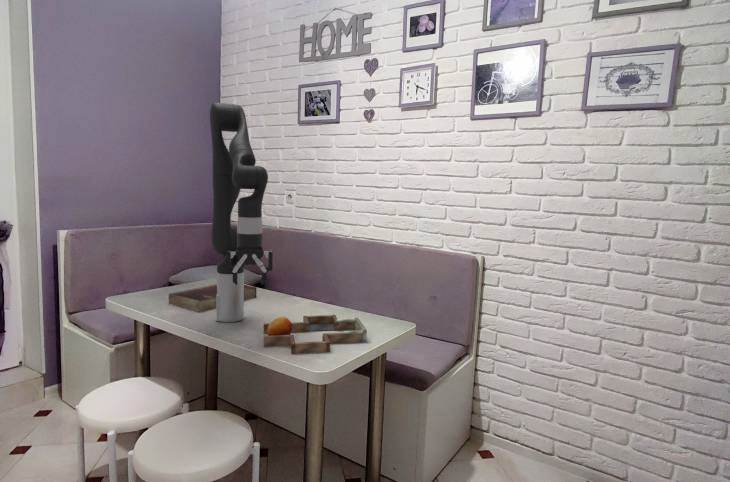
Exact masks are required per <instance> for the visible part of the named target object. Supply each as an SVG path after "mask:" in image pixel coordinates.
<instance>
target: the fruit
mask: <svg viewBox="0 0 730 482" xmlns="http://www.w3.org/2000/svg"><path fill="white" fill-rule="evenodd" d="M269 323H270V324H269V325H268V328H267V331H268V332H267V333H266V334H267V336H274V335H292V333H293V332H292V321H291V320H290V319H289V318H287V317H285V316H283V317H282V316H279V317H277V318H275V319H273V320H272V321H270V322H269Z"/></svg>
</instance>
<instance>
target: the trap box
mask: <svg viewBox="0 0 730 482" xmlns="http://www.w3.org/2000/svg"><path fill="white" fill-rule="evenodd" d="M302 318H303V321H299V322H298V321H297V322H292V321H291V323H292V332H291V333H303V332H304V333H307V332H310V333H311V332H325V333H322V337H321V339H322V340H321V341H307V342H306V341H304V342H303V341H302V342H300V341H298V342H296V340H295V339H296V338H295V335H294V334H290V335H274V336H268V335H263V347H264V348H265V347H266V348H267V347H268V348H269V347H284V346H285V347H287V346H289V349H290V354H291V355H298V354H299V355H301V354H321V353H331V345H333V344H335V345H336V344H352V343H354V344H355V343H367V337H368V336H367V335H368V333H367V331H368V330H367V328H366V327H365V325H364V324H363V323H362V322H361V319H360V318H359V317H354V318H345V319H344V318H342V319H341V318H340V319H339V318H338V317H337V315H336V314H327V315H325V314H323V315H322V314H320V315H303V317H302ZM269 324H270V322H268V323H263V329H262V330H263V334H268V333H267V332H268V331H267V328H268V325H269ZM333 331H334V332H333ZM336 331H342V332H336ZM326 332H328V333H326Z"/></svg>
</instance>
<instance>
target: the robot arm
mask: <svg viewBox="0 0 730 482" xmlns="http://www.w3.org/2000/svg"><path fill="white" fill-rule="evenodd" d="M209 122H210V123H209V124H210V135H211V145H212V146H211V148H212V192H213V194H212V195H213V196H212V197H213V199H212V200H213V201H212V203H213V204H212V205H213V206H212V207H213V208H212V209H213V210H212V211H213V212H212V222H211V223H212V226H211V245H212V248H213V249H214V252H215V253H217V254H219V255H225V256H224V257H223V259H222V260H221V261H220V262H218V263H217V264H216V284H217V295H216V308H215V312H216V320H215V321H216V322H223V323H233V322H234V323H235V322H238V321H241V320H243V319H244V317H245V316H244V315H245V308H244V307H245V302H244V285H245V281H244V280H245V277H244V275H245V266H246V265H254V266H255V265H256V264H257V266H258V267H259V268H260V270H261V285H265V283H266V282H267V273H268V272H271V271H272V270H273V258H274V257H273V255H274V254H273V251H272V250H264V249H263V231H264V230H263V217H262V215H263V214H262V213H263V211H262V209H263V200H264V194H265V191H266V188H267V185H268V181H269V174H268V172H267V170H266V168H265V167H263V166H261V165H256V162H257V161H256V160H257V159H256V156H255V154H254V152H253V148H252V146H251V142H250V137H249V130H248V124H247V123H248V122H247V118H246V113H245V111H244V109H243V107H242V106H240V104H235V103H233V104H232V103H225V102H224V103H223V102H212V104H211V106H210V109H209ZM223 132H228V133H229V132H230V133H231V132H232V133H236V134H235V135H234V136H233V137H232V139H231V140H230V142H229V145H228V147H227V145H226V144H225V140H224V137H223ZM241 190H253V192H252V194H251V195H248V196H243V197H241V198H239V195H240V193H241ZM237 200H238V201H237ZM236 202H237V223H236V226H232V224H231V221H232V220H231V219H232V211H233V208H234V206H235V204H236ZM263 256H265V258H266V259H268V260H267V262H268V263H267V266H265V264H264V263H263V262H262V258H263Z"/></svg>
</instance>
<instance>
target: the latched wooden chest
mask: <svg viewBox="0 0 730 482" xmlns="http://www.w3.org/2000/svg"><path fill="white" fill-rule="evenodd" d="M216 295H217V283H214V284H209V285H204V286H201V287H200V286H199V287H196V288H191V289H185V290H180V291H175V292H171V293H168V305H171V304H173V305H172V306H175V305H176V306H175V307H178V306H179V308H182V309H185V308H186V310H189V309H190V310H189V311H192V310H193V312H197V313H202V312H206V311H210V310H214V309H216ZM256 298H257V287H256V286H252V285H245V284H244V301H248V300H251V299H256Z"/></svg>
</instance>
